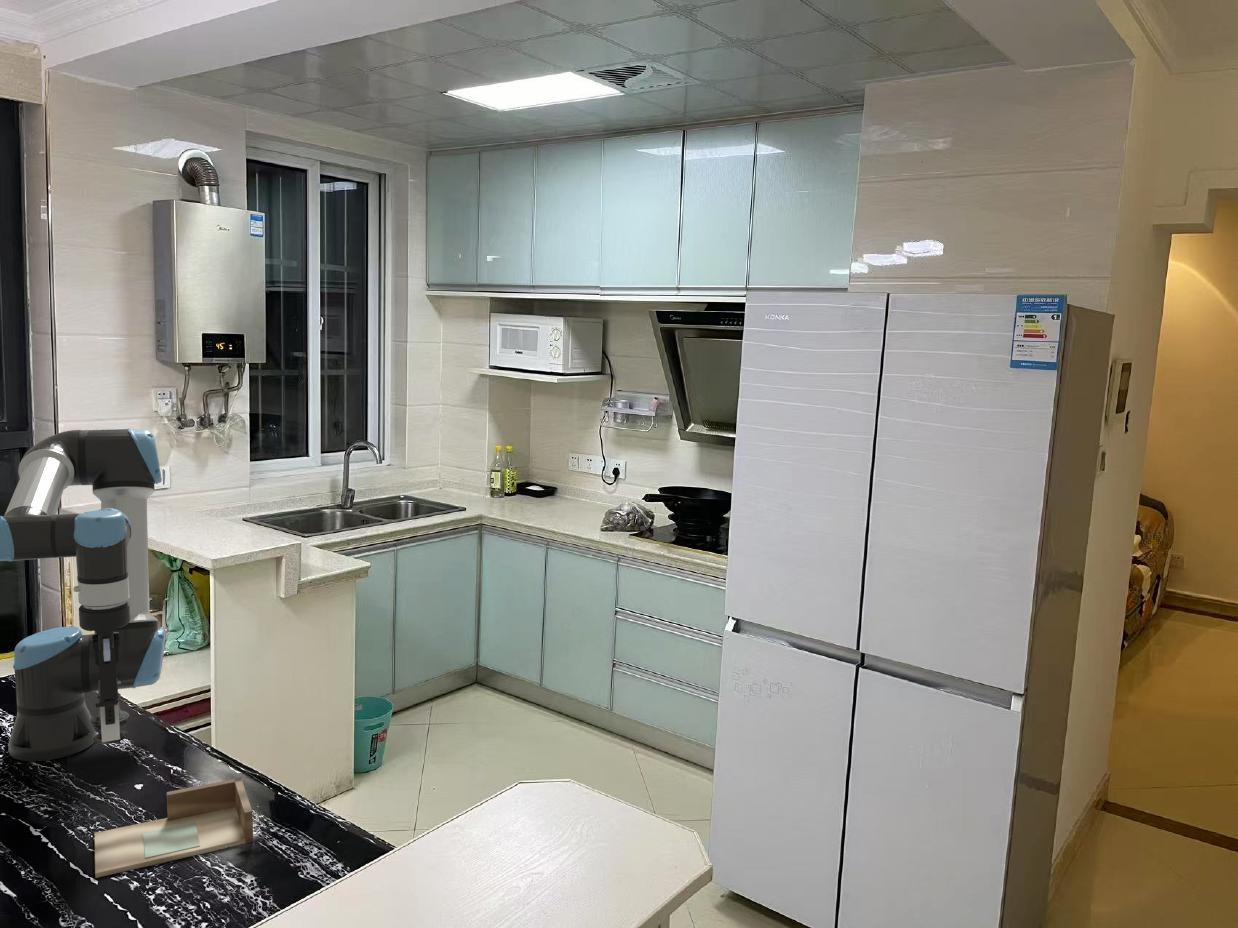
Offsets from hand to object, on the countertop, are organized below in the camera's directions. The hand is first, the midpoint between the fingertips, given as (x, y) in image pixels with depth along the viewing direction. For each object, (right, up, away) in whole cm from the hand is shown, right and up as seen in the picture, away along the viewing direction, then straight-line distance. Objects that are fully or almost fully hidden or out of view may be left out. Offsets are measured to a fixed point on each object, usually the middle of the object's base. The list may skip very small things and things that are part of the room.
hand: (110, 731), depth 159 cm
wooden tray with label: (+13, -17, -5) cm, 22 cm away
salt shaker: (0, -1, 0) cm, 1 cm away
